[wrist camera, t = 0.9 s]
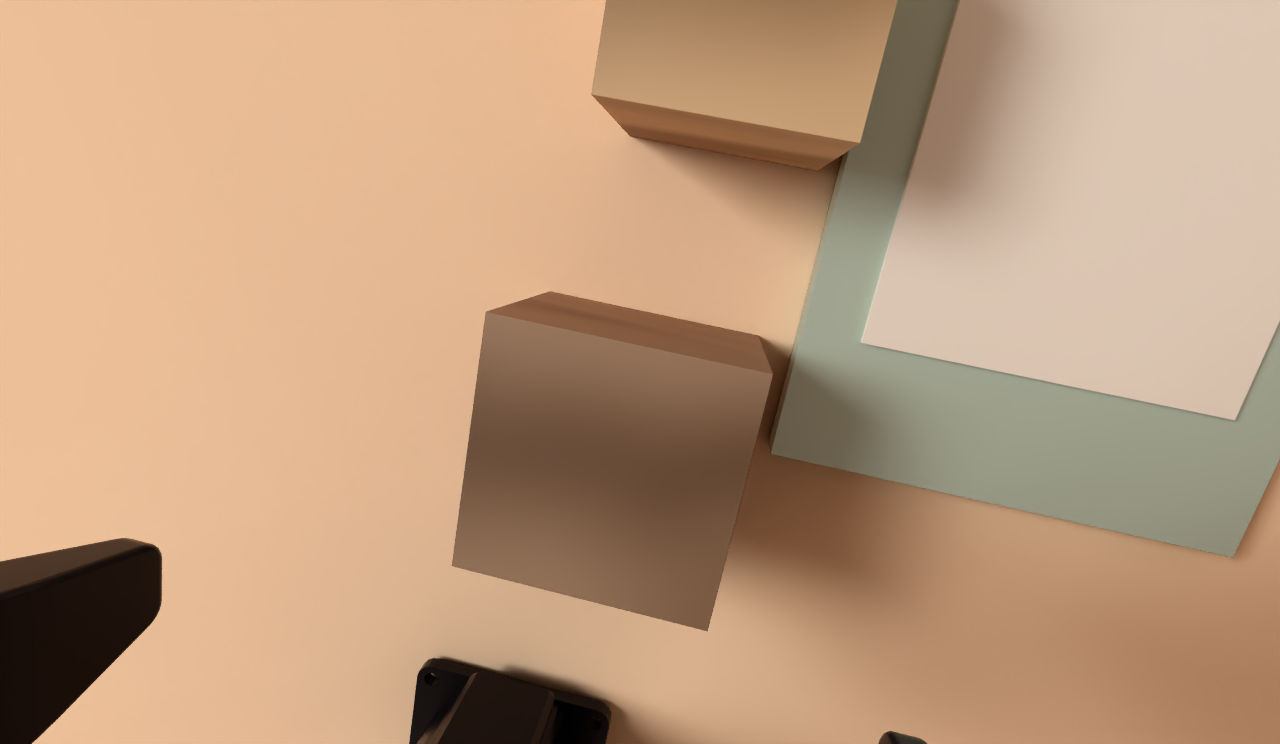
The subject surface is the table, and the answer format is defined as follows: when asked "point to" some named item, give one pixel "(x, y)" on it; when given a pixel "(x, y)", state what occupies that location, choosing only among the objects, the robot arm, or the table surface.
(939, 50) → the base board
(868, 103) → the oak cube
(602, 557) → the walnut block
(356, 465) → the table surface
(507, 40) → the table surface
